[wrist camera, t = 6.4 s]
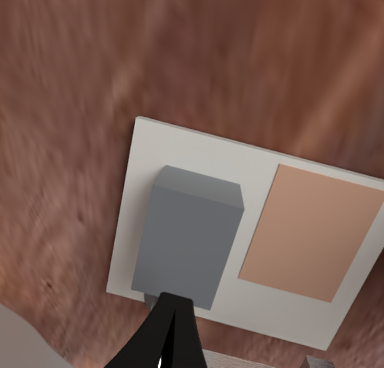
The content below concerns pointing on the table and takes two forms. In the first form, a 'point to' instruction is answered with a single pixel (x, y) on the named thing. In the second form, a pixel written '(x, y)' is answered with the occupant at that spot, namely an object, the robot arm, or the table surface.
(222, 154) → the board
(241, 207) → the grey rectangular block
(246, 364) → the latch
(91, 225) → the table surface
